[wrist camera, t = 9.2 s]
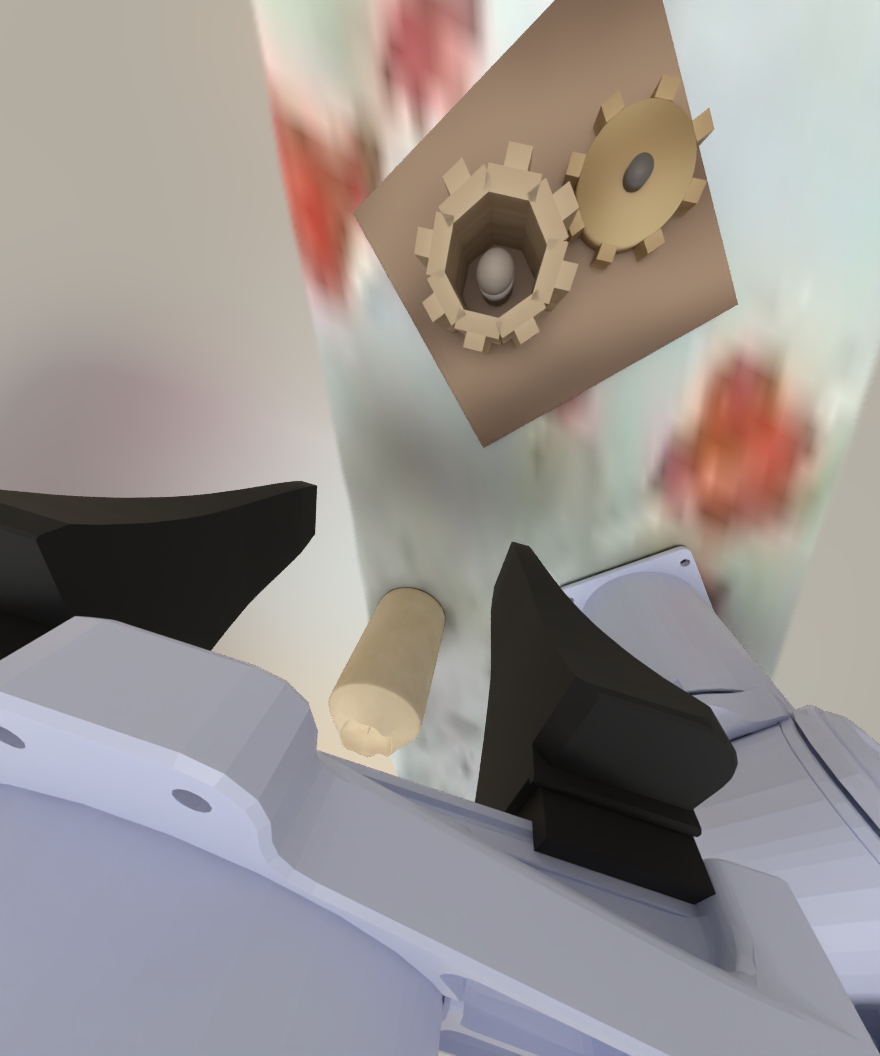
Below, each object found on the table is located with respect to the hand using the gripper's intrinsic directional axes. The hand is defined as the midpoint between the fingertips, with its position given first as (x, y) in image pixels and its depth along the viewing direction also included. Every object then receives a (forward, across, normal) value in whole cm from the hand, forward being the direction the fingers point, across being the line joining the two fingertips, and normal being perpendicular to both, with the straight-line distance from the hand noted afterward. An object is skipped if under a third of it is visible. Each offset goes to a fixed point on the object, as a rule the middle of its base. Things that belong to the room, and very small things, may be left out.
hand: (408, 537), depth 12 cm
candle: (+10, 0, +13) cm, 16 cm away
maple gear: (+8, 0, -9) cm, 12 cm away
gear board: (+9, -2, -10) cm, 14 cm away
